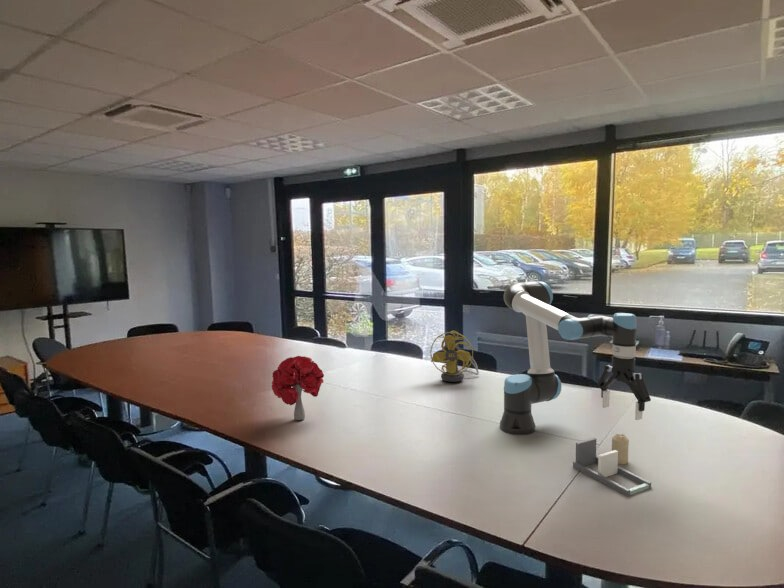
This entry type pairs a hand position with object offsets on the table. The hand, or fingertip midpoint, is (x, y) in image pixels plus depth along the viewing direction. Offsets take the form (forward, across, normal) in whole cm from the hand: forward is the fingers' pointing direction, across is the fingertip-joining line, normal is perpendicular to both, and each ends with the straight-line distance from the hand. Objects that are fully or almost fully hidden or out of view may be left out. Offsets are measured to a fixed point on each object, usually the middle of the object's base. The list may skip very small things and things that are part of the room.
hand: (621, 413), depth 165 cm
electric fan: (+19, -122, +9) cm, 124 cm away
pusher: (+18, +6, -13) cm, 23 cm away
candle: (+19, 0, 0) cm, 19 cm away
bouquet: (+19, -100, -96) cm, 140 cm away
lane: (+18, +6, -13) cm, 23 cm away
